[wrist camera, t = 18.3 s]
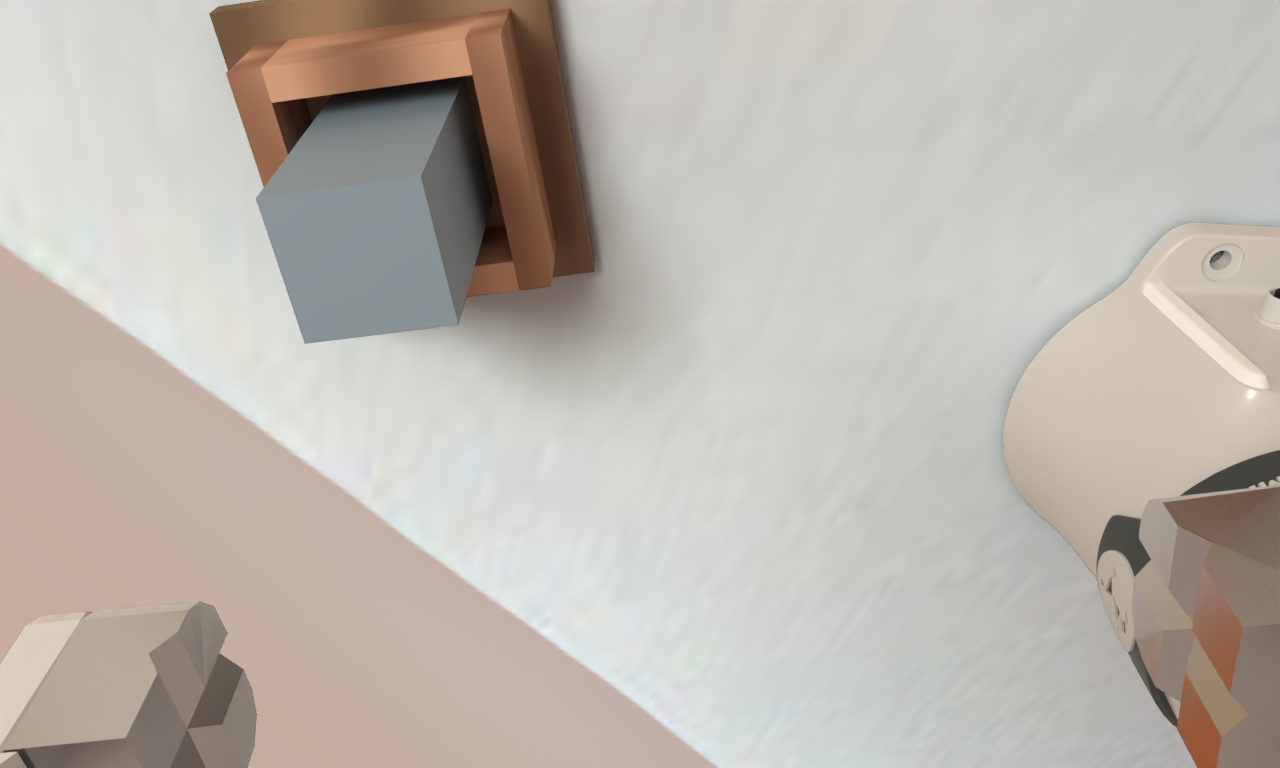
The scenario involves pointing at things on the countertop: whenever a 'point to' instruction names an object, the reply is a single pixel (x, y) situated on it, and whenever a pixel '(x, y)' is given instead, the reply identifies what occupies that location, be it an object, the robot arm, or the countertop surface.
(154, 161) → the countertop surface
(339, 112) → the square peg
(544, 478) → the countertop surface
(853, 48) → the countertop surface
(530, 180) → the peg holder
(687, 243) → the countertop surface
